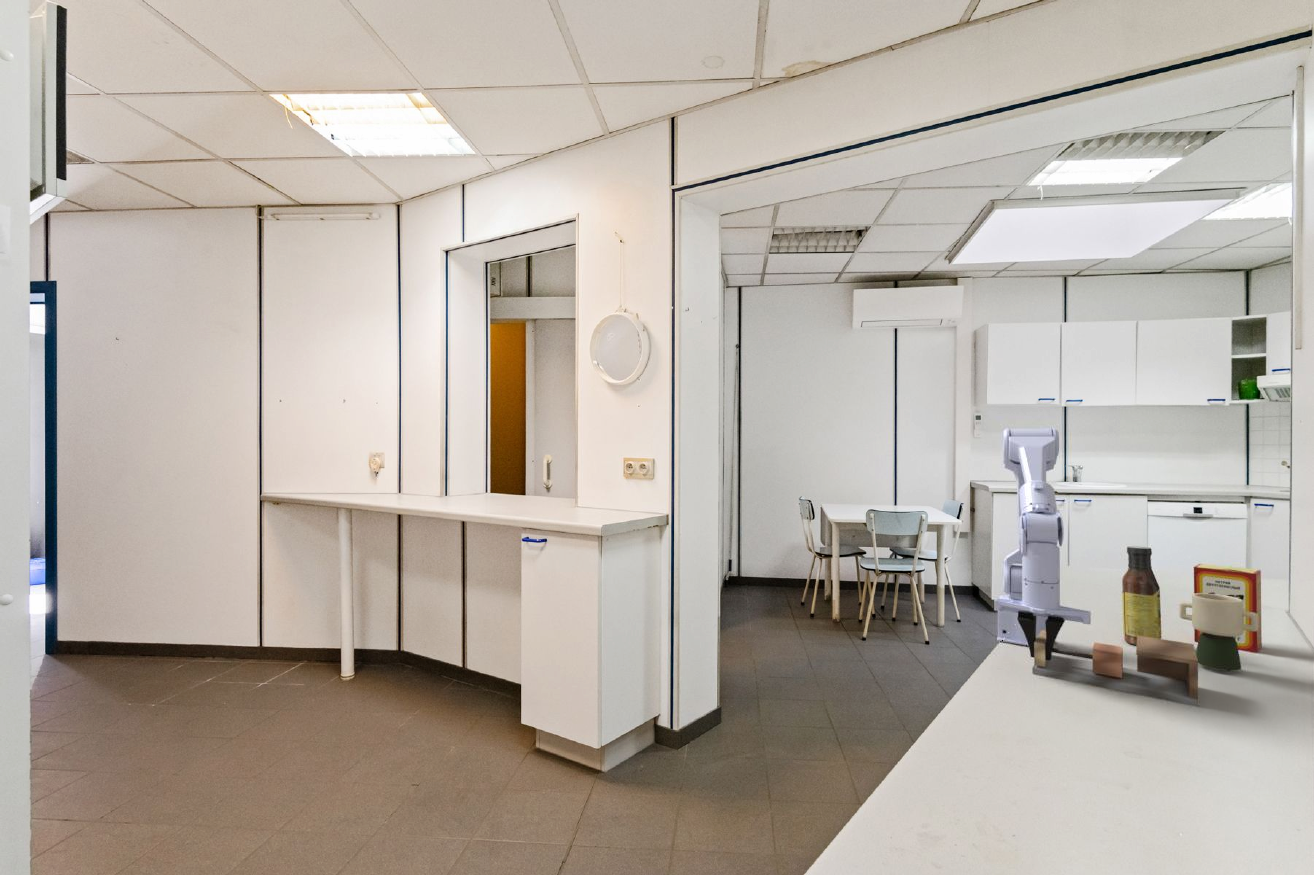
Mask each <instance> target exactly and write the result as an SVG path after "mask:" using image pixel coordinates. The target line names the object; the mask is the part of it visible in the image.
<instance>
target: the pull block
mask: <svg viewBox="0 0 1314 875" xmlns="http://www.w3.org/2000/svg"><path fill="white" fill-rule="evenodd" d="M1045 651H1046V631H1044V630H1041V632H1040V634H1039V635H1038V637H1037V638H1036V640H1035V642H1034V658H1033V661H1034V662H1033V663H1034V664H1033V666H1034V665H1037V666H1042V667H1045V666H1046V664H1047V662H1048V660H1046V657H1045ZM1053 653H1055V654H1059V655H1066V656H1072V657H1077V658H1082V659H1086V660H1092V662H1093V673H1097V674H1103V675H1108V676H1113V677H1119V678H1122V672H1123V668H1124V667H1123V666H1124V665H1123V664H1124V662H1123V661H1124V660H1123V653H1124V652H1123V646H1119V645H1118V646H1117V645H1112V644H1106V643H1099V642H1093V646H1092V653H1085V652H1079V651H1072V650H1067V649H1063V648H1056V647H1053V650H1052V654H1053Z"/></svg>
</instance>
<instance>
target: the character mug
mask: <svg viewBox="0 0 1314 875" xmlns="http://www.w3.org/2000/svg"><path fill="white" fill-rule="evenodd" d="M1178 607H1179V609H1178V610H1179V618H1180V619H1183V620H1187V621H1191V625H1192V627H1193V629H1196V630H1198V631H1201V632H1203V633H1201V634H1200V636H1199V639H1198V642H1197V647H1196V650H1195V651H1196V655H1197V659H1198V665H1201V666H1204V667H1206V668H1207V669H1208V668H1209V669H1212V670H1218V671H1227V672H1231V671H1238V670H1242V664H1241V657H1240V654H1239V650H1238V646H1237V642H1236V640H1235V639H1234V638H1233V637H1236V636H1241V635H1242V634H1243V632H1244V630H1249V631H1258V615H1257V614H1256V613H1254V612H1247V611H1244V604H1243V600H1241V599H1239V598H1235V597H1230V596H1225V595H1218V594H1206V593H1195V594H1194V593H1192V595H1191V602H1190V601H1180V602H1179V605H1178ZM1187 608H1190V609H1191V615H1190V614H1187ZM1244 616H1245V617H1250V618H1251V625H1246V624H1244Z"/></svg>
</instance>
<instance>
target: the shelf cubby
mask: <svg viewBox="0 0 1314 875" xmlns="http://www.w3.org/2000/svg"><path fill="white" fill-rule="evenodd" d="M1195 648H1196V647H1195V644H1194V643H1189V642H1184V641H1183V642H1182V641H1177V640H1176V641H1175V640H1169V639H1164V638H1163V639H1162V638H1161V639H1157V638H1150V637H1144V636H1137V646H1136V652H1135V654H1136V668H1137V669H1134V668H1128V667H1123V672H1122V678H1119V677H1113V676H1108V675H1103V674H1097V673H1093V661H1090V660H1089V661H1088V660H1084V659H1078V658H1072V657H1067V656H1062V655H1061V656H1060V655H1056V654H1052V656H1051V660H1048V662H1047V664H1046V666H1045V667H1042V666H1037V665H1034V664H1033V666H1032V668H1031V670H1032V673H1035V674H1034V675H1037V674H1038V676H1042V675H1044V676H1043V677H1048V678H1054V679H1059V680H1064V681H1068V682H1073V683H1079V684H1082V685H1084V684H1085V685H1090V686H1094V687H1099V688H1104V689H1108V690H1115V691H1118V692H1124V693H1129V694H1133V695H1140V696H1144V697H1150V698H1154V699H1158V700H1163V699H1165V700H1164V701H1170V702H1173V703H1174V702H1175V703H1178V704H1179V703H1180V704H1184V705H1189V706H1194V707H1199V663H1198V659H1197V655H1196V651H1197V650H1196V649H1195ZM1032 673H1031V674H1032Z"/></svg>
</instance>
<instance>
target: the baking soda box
mask: <svg viewBox="0 0 1314 875" xmlns="http://www.w3.org/2000/svg"><path fill="white" fill-rule="evenodd" d="M1261 586H1262V571H1261V570H1260V569H1253V568H1244V567H1239V566H1232V565H1231V566H1225V565H1222V566H1221V565H1214V564H1205V563H1198V564H1197V565H1195V566H1193V594H1195V593H1206V594H1218V595H1225V596H1230V597H1235V598H1239V599H1241V600H1243V604H1244V611H1247V612H1254V613H1256V614H1257V615H1258V631H1249V630H1244V632H1243V634H1242V635H1241V636H1236V637H1233V638H1234V639H1235V640H1236V642H1237V646H1238V651H1243V652H1247V653H1253V654H1258V653H1259V651H1260V650H1261V649H1262V648H1263V646H1262V644H1263V643H1262V638H1263V637H1262V587H1261ZM1244 624H1246V625H1251V618H1250V617H1245V616H1244ZM1193 629H1194V628H1193ZM1201 633H1203V632H1201V631H1198V630H1196V629H1194V634H1193V636H1194V638H1193V639H1194V641H1195V642H1194V643H1198V639H1199V636H1200V634H1201Z"/></svg>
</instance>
